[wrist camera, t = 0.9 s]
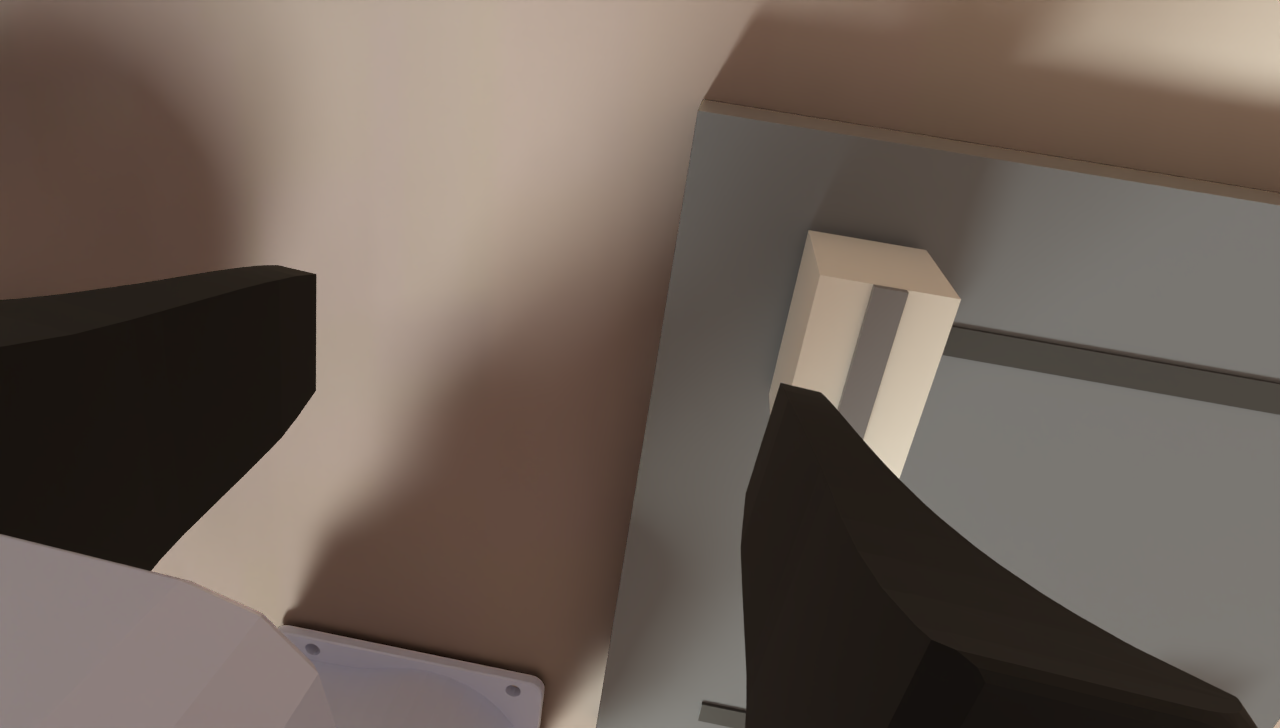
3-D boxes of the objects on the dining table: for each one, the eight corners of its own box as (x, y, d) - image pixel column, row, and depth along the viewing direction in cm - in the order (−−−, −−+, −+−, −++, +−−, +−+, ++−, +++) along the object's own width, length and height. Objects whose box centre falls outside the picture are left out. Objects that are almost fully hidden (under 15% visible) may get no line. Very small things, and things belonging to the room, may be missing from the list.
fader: (769, 394, 18) (772, 466, 15) (808, 230, 17) (820, 277, 14) (875, 413, 18) (898, 489, 15) (926, 250, 16) (962, 302, 14)
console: (598, 724, 27) (587, 779, 25) (702, 98, 18) (697, 111, 16) (1123, 834, 26) (1152, 899, 24) (1519, 232, 17) (1616, 261, 15)
